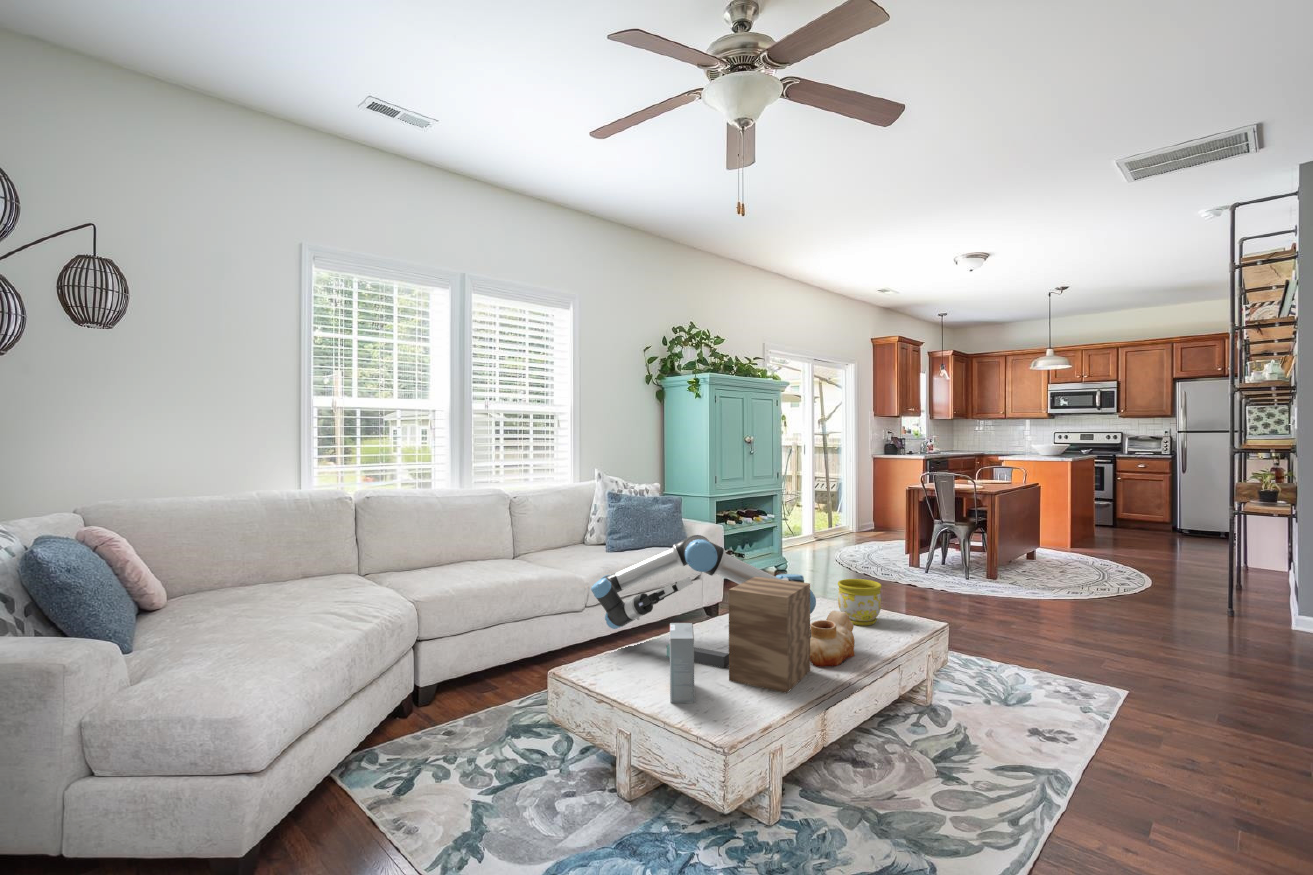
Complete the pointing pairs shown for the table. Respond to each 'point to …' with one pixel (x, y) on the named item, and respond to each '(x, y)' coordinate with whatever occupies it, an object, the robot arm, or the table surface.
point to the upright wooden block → (769, 633)
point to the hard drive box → (681, 663)
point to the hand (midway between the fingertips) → (681, 583)
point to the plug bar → (708, 657)
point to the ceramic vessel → (831, 640)
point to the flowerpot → (860, 600)
